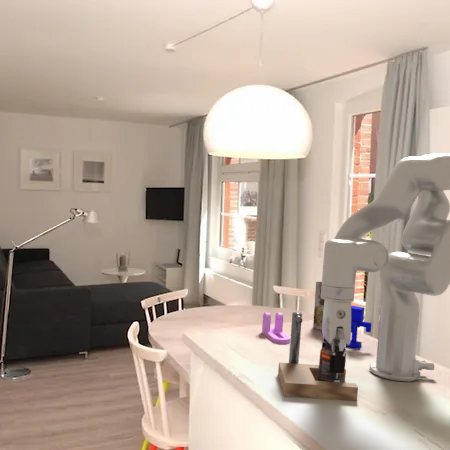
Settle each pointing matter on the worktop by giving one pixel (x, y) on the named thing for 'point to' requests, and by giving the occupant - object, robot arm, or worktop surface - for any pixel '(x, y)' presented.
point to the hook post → (295, 337)
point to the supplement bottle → (324, 366)
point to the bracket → (275, 329)
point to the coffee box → (318, 307)
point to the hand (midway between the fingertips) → (331, 365)
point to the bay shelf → (312, 383)
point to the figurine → (356, 322)
